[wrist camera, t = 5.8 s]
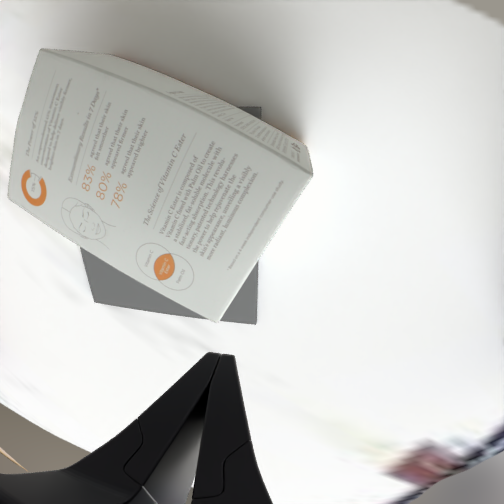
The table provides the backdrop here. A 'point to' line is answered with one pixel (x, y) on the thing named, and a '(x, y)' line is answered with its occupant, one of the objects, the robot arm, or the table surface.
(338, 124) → the table surface
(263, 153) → the small box
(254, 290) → the mat
